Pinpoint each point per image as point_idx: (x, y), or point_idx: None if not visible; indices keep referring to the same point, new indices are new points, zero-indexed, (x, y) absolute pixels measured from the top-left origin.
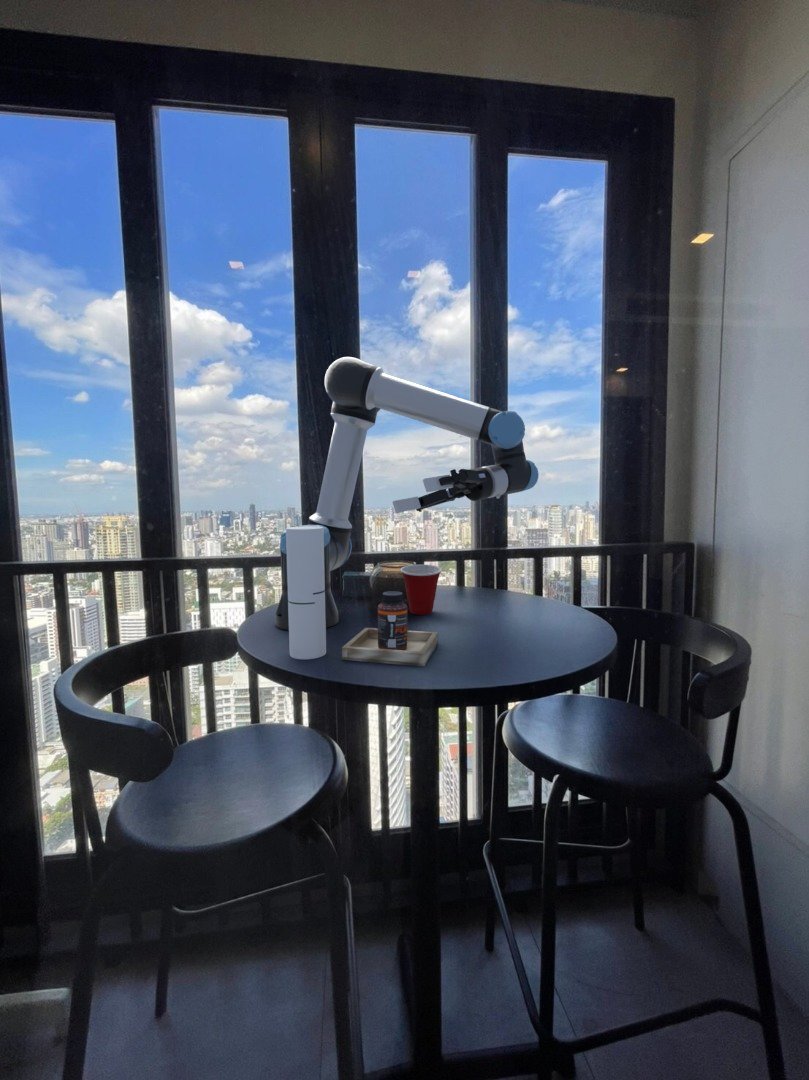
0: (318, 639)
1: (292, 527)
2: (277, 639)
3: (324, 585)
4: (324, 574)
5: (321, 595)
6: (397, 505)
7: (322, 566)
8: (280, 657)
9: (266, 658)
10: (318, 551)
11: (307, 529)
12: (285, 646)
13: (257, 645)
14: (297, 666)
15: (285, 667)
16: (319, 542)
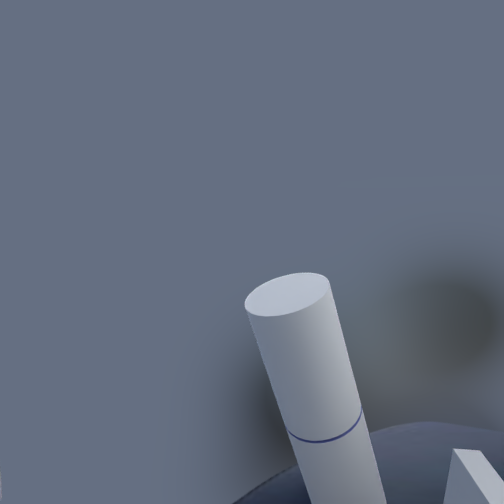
0: (310, 499)
1: (312, 277)
2: None
3: (302, 431)
4: (301, 412)
5: (292, 439)
6: (454, 499)
7: (280, 391)
8: None
9: None
10: (263, 356)
11: (245, 300)
12: (411, 476)
13: (430, 434)
14: (291, 487)
15: (295, 470)
16: (259, 340)
